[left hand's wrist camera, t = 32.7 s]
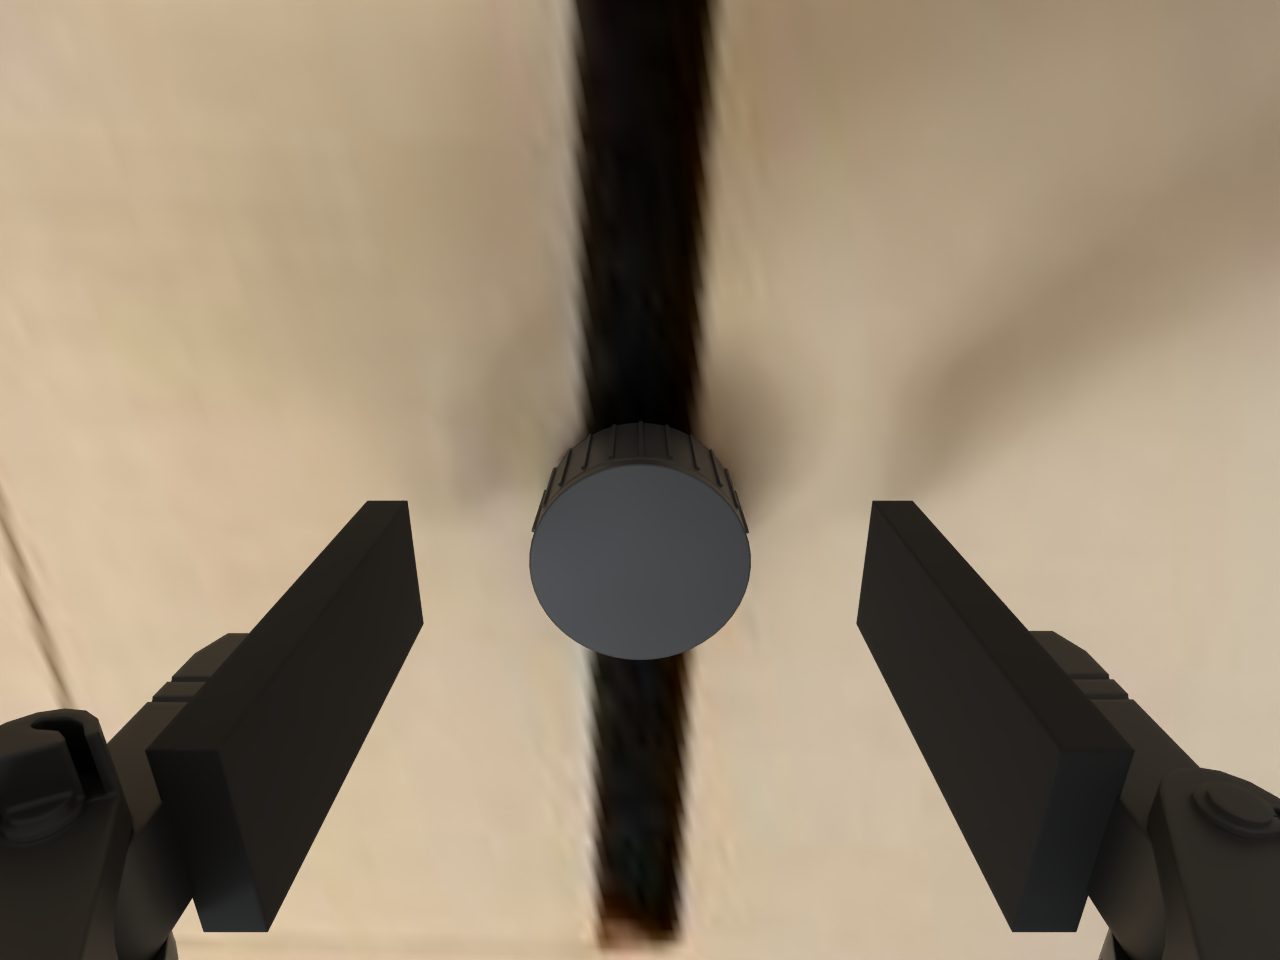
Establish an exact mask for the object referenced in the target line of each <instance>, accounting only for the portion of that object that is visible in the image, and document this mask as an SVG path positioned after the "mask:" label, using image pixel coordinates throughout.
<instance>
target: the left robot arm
mask: <svg viewBox="0 0 1280 960" xmlns="http://www.w3.org/2000/svg"><path fill="white" fill-rule="evenodd" d="M422 626H423V616H422V608H421V601H420V593H419V585H418V578H417V570H416V562H415V555H414V547H413V540H412V532H411V524H410V517H409V509H408V501H367V502H366V503H365V504H364V505H363V506H362V507H361V509H360V510H359V511H358V512H357V513H356V514H355V515H354V516H353V518H352V519H351V520H350V521H349V522H348V523H347V524H346V525H345V527H344V528H343V529H342V530H341V531H340V532H339V533H338V534H337V536H336V537H335V538H334V539H333V540H332V541H331V542H330V543H329V544H328V546H327V547H326V548H325V549H324V550H323V551H322V552H321V553H320V555H319V556H318V557H317V558H316V559H315V560H314V561H313V562H312V564H311V565H310V566H309V567H308V568H307V569H306V570H305V571H304V573H303V574H302V575H301V576H300V577H299V578H298V579H297V580H296V581H295V583H294V584H293V585H292V586H291V587H290V588H289V589H288V590H287V592H286V593H285V594H284V595H283V596H282V597H281V598H280V599H279V601H278V602H277V603H276V604H275V605H274V606H273V607H272V608H271V610H270V611H269V612H268V613H267V614H266V615H265V616H264V617H263V618H262V620H261V621H260V622H259V623H258V624H257V625H256V626H255V627H254V629H253V630H252V631H251V632H250V633H228V634H226V635H224V636H223V637H221V638H219V639H218V640H216V641H215V642H213V643H211V644H210V645H208V646H206V647H205V648H203V649H201V650H200V651H198V652H196V653H195V654H194V655H193V656H192V657H191V658H190V659H189V660H188V661H187V662H186V663H185V664H184V665H183V666H182V667H181V668H180V669H179V670H178V671H177V672H176V673H175V674H174V675H173V676H172V681H171V682H167V683H166V684H165V685H164V686H163V687H162V688H161V689H160V690H159V691H158V692H157V693H156V694H155V695H154V696H153V700H152V702H147V703H146V704H145V705H144V706H143V707H142V708H141V709H140V710H139V711H138V712H137V714H136V715H135V716H134V717H133V718H132V719H131V720H130V721H129V722H128V723H127V724H126V725H125V726H124V727H123V728H122V729H121V730H120V731H119V732H118V733H117V734H116V735H115V736H114V737H113V738H112V739H111V740H110V741H109V742H108V743H106V740H105V738H104V735H103V732H102V729H101V726H100V723H99V720H98V718H96V717H95V716H93V715H92V714H90V713H89V712H87V711H84V710H74V709H58V710H52V711H45V712H38V713H34V714H31V715H28V716H25V717H22V718H19V719H16V720H13V721H10V722H6V723H4V724H2V725H0V960H178V953H177V947H176V942H175V939H174V936H173V933H172V929H173V928H174V926H175V924H176V923H177V921H178V920H179V918H180V917H181V915H182V913H183V912H184V910H185V909H186V907H187V906H188V904H189V902H190V901H191V899H192V898H193V900H194V903H195V907H196V910H197V913H198V916H199V919H200V922H201V925H202V928H203V931H204V932H268V931H269V929H270V927H271V925H272V923H273V921H274V919H275V917H276V915H277V913H278V911H279V909H280V907H281V905H282V903H283V901H284V899H285V897H286V895H287V893H288V891H289V889H290V887H291V885H292V883H293V881H294V879H295V877H296V875H297V873H298V871H299V869H300V867H301V865H302V863H303V861H304V859H305V857H306V855H307V853H308V851H309V849H310V847H311V845H312V843H313V841H314V839H315V837H316V836H317V834H318V832H319V830H320V828H321V826H322V824H323V822H324V820H325V818H326V816H327V814H328V812H329V810H330V808H331V806H332V804H333V802H334V800H335V798H336V796H337V794H338V792H339V790H340V788H341V786H342V784H343V782H344V780H345V778H346V776H347V774H348V772H349V770H350V768H351V766H352V764H353V762H354V760H355V758H356V756H357V754H358V752H359V750H360V748H361V746H362V744H363V742H364V741H365V739H366V737H367V735H368V733H369V731H370V729H371V727H372V725H373V723H374V721H375V719H376V717H377V715H378V713H379V711H380V709H381V707H382V705H383V703H384V701H385V699H386V697H387V695H388V693H389V691H390V689H391V687H392V685H393V683H394V681H395V679H396V677H397V675H398V673H399V671H400V669H401V667H402V665H403V663H404V661H405V659H406V657H407V655H408V653H409V651H410V649H411V647H412V646H413V644H414V642H415V640H416V638H417V636H418V634H419V632H420V630H421V628H422ZM857 626H858V628H859V630H860V632H861V634H862V636H863V638H864V640H865V642H866V644H867V645H868V647H869V649H870V651H871V653H872V655H873V657H874V659H875V661H876V663H877V665H878V667H879V669H880V671H881V673H882V675H883V677H884V679H885V681H886V683H887V685H888V687H889V689H890V691H891V693H892V695H893V697H894V699H895V701H896V703H897V705H898V707H899V709H900V711H901V713H902V715H903V717H904V719H905V721H906V723H907V725H908V727H909V729H910V731H911V733H912V735H913V737H914V739H915V740H916V742H917V744H918V746H919V748H920V750H921V752H922V754H923V756H924V758H925V760H926V762H927V764H928V766H929V768H930V770H931V772H932V774H933V776H934V778H935V780H936V782H937V784H938V786H939V788H940V790H941V792H942V794H943V796H944V798H945V800H946V802H947V804H948V806H949V808H950V810H951V812H952V814H953V816H954V818H955V820H956V822H957V824H958V826H959V828H960V830H961V832H962V834H963V835H964V837H965V839H966V841H967V843H968V845H969V847H970V849H971V851H972V853H973V855H974V857H975V859H976V861H977V863H978V865H979V867H980V869H981V871H982V873H983V875H984V877H985V879H986V881H987V883H988V885H989V887H990V889H991V891H992V893H993V895H994V897H995V899H996V901H997V903H998V905H999V907H1000V909H1001V911H1002V913H1003V915H1004V917H1005V919H1006V921H1007V923H1008V925H1009V927H1010V929H1011V930H1012V932H1076V931H1077V928H1078V925H1079V922H1080V919H1081V916H1082V913H1083V910H1084V907H1085V904H1086V900H1087V897H1088V895H1089V897H1090V899H1091V900H1092V902H1093V903H1094V905H1095V906H1096V908H1097V910H1098V911H1099V913H1100V914H1101V916H1102V917H1103V919H1104V920H1105V922H1106V924H1107V925H1108V927H1109V930H1108V933H1107V936H1106V939H1105V942H1104V945H1103V947H1102V950H1101V953H1100V956H1099V959H1098V960H1280V799H1279V798H1278V797H1276V796H1274V795H1273V794H1271V793H1269V792H1267V791H1265V790H1264V789H1262V788H1260V787H1258V786H1256V785H1255V784H1253V783H1251V782H1249V781H1246V780H1243V779H1241V778H1238V777H1235V776H1232V775H1230V774H1227V773H1224V772H1221V771H1217V770H1211V769H1204V768H1200V767H1199V766H1198V765H1197V764H1196V763H1195V762H1194V761H1193V760H1192V759H1191V758H1190V757H1189V756H1188V755H1187V754H1186V753H1185V752H1184V751H1183V750H1182V749H1181V748H1180V747H1179V746H1178V745H1177V744H1176V743H1175V742H1174V741H1173V740H1172V739H1171V738H1170V737H1169V736H1168V735H1167V734H1166V733H1165V732H1164V731H1163V729H1162V728H1161V727H1160V726H1159V725H1158V724H1157V723H1156V722H1155V721H1154V720H1153V719H1152V718H1151V717H1150V716H1149V715H1148V714H1147V713H1146V712H1145V711H1144V710H1143V709H1142V708H1141V707H1140V706H1139V705H1138V704H1137V703H1136V702H1135V701H1134V700H1129V698H1128V694H1127V693H1126V692H1125V691H1124V690H1123V689H1122V688H1121V687H1120V686H1119V684H1118V683H1117V682H1116V681H1115V680H1114V679H1109V674H1108V673H1107V672H1106V671H1105V670H1104V669H1103V668H1102V667H1101V666H1100V665H1099V664H1098V663H1097V662H1096V661H1095V660H1094V659H1093V658H1092V657H1091V656H1090V655H1089V654H1088V653H1087V652H1086V651H1085V650H1083V649H1082V648H1080V647H1078V646H1077V645H1075V644H1073V643H1072V642H1070V641H1068V640H1067V639H1065V638H1063V637H1062V636H1060V635H1058V634H1057V633H1055V632H1053V631H1028V630H1027V629H1026V627H1025V626H1024V625H1023V624H1022V623H1021V622H1020V621H1019V620H1018V618H1017V617H1016V616H1015V615H1014V614H1013V613H1012V612H1011V611H1010V609H1009V608H1008V607H1007V606H1006V605H1005V604H1004V603H1003V602H1002V601H1001V599H1000V598H999V597H998V596H997V595H996V594H995V593H994V592H993V590H992V589H991V588H990V587H989V586H988V585H987V584H986V583H985V581H984V580H983V579H982V578H981V577H980V576H979V575H978V574H977V572H976V571H975V570H974V569H973V568H972V567H971V566H970V565H969V564H968V562H967V561H966V560H965V559H964V558H963V557H962V556H961V555H960V553H959V552H958V551H957V550H956V549H955V548H954V547H953V546H952V544H951V543H950V542H949V541H948V540H947V539H946V538H945V537H944V535H943V534H942V533H941V532H940V531H939V530H938V529H937V528H936V527H935V525H934V524H933V523H932V522H931V521H930V520H929V519H928V518H927V516H926V515H925V514H924V513H923V512H922V511H921V510H920V509H919V507H918V506H917V505H916V504H915V503H914V502H913V501H872V509H871V517H870V524H869V532H868V540H867V547H866V555H865V563H864V570H863V578H862V585H861V593H860V601H859V608H858V616H857Z"/></svg>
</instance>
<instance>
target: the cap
mask: <svg viewBox="0 0 1280 960" xmlns="http://www.w3.org/2000/svg"><path fill="white" fill-rule="evenodd" d="M532 532H534V535H533V538H532V542H531V548H530V562H529V567H530V574H531V580H532V584H533V588H534V591H535V593H536V596H537V598H538V600H539V602H540V604H541V606H542V607H543V609H544V611H545V612H546V614H547V615H548V616H549V618H550V619H551V620H552V621H553V623H554V624H555V625H556V626H557V627H558V628H559V629H560V630H561V631H563V632H564V633H565V634H566V635H567V636H569V637H570V638H572V639H573V640H574V641H576V642H578V643H579V644H581V645H583V646H585V647H586V648H589V649H591V650H593V651H596V652H598V653H601V654H605V655H608V656H612V657H617V658H623V659H634V660H646V659H657V658H663V657H668V656H672V655H676V654H679V653H682V652H684V651H687V650H689V649H692V648H694V647H695V646H697V645H699V644H701V643H703V642H704V641H706V640H707V639H709V638H710V637H711V636H713V635H714V634H715V633H717V632H718V631H719V630H720V629H721V628H722V627H723V626H724V625H725V624H726V623H727V622H728V620H729V619H730V618H731V617H732V616H733V614H734V613H735V611H736V609H737V608H738V606H739V605H740V603H741V601H742V598H743V596H744V594H745V592H746V588H747V585H748V582H749V576H750V569H751V553H750V547H749V541H748V538H747V535H746V533H749V531H748V527H747V524H746V521H745V518H744V515H743V512H742V509H741V506H740V502H739V499H738V496H737V493H736V491H734V488H733V485H732V482H731V479H730V475H729V472H728V470H727V468H726V469H724V468H723V467H722V465H721V464H720V462H719V461H718V459H717V458H716V457H715V455H714V451H713V450H712V449H710V450H709V449H707V448H706V447H705V446H704V445H703V444H702V443H700V442H699V441H697V440H696V439H694V436H693V435H692V434H690V435H688V434H686V433H683V432H681V431H679V430H677V429H674V428H671V427H669V425H667V424H665V426H663V425H658V424H652V423H643V421H639V423H627V424H622V425H617V426H616V424H614V425H612V427H610V428H607V429H603V430H601V431H599V432H597V433H595V434H591V433H590V434H589V435H588V437H587V438H586V439H584V440H583V441H581V442H580V443H579V444H577V445H576V446H575V447H574V448H573V449H571V448H570V449H568V451H567V454H566V456H565V457H564V458H563V460H562V461H561V463H560V464H559V465H558V467H557V468H554V469H553V471H552V474H551V477H550V480H549V483H548V486H547V490H545V491H544V494H543V497H542V500H541V503H540V506H539V509H538V512H537V515H536V518H535V521H534V525H533V528H532Z"/></svg>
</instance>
